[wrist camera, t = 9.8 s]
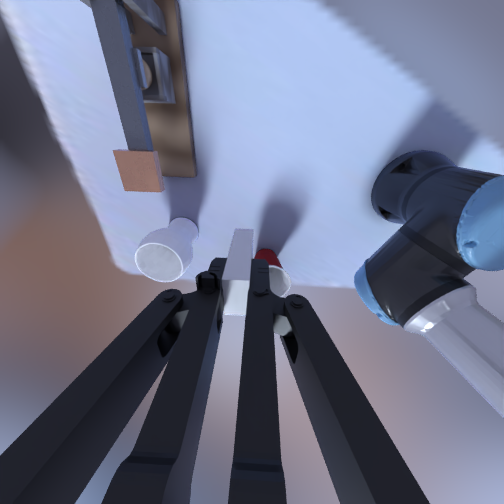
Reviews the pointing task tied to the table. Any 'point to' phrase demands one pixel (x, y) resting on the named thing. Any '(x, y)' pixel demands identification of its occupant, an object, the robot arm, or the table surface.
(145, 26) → the press base
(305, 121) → the table surface
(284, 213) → the table surface
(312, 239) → the table surface
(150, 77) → the walnut
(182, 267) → the cup
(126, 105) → the lever
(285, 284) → the plastic cup
